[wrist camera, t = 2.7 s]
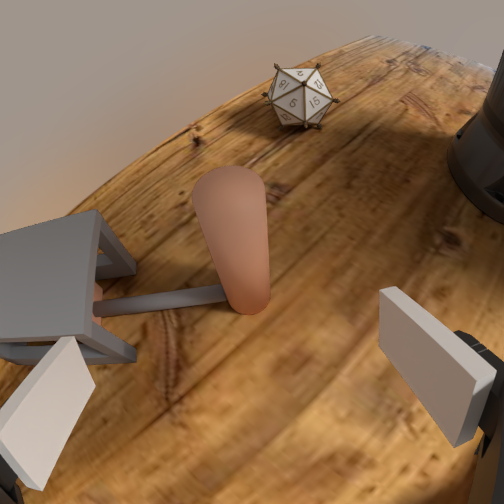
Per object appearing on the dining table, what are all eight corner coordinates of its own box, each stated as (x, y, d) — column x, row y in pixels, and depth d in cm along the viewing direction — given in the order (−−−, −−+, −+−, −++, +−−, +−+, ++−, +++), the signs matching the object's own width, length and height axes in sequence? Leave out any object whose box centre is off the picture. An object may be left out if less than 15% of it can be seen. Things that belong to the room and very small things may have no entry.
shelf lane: (136, 263, 29) (96, 208, 22) (136, 362, 24) (83, 333, 17) (27, 281, 29) (-22, 241, 22) (17, 364, 24) (-42, 338, 17)
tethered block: (265, 264, 28) (257, 152, 17) (275, 319, 26) (274, 228, 14) (61, 294, 28) (-24, 221, 17) (57, 342, 25) (-41, 284, 14)
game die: (282, 144, 41) (235, 85, 36) (328, 107, 40) (287, 48, 35) (312, 158, 33) (256, 83, 28) (366, 114, 32) (319, 39, 27)
